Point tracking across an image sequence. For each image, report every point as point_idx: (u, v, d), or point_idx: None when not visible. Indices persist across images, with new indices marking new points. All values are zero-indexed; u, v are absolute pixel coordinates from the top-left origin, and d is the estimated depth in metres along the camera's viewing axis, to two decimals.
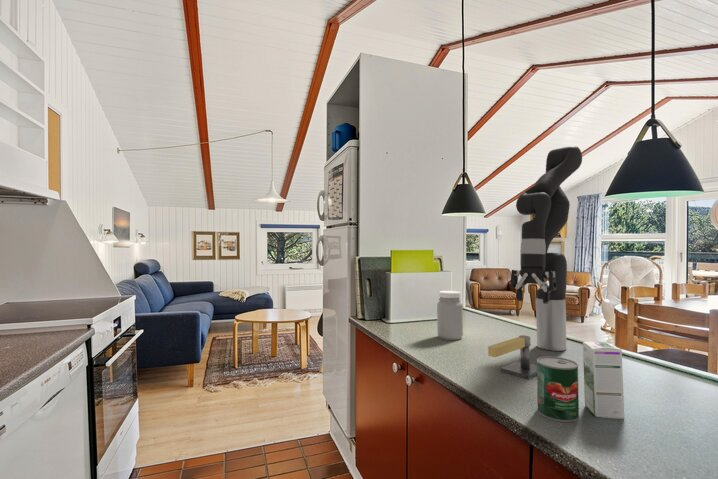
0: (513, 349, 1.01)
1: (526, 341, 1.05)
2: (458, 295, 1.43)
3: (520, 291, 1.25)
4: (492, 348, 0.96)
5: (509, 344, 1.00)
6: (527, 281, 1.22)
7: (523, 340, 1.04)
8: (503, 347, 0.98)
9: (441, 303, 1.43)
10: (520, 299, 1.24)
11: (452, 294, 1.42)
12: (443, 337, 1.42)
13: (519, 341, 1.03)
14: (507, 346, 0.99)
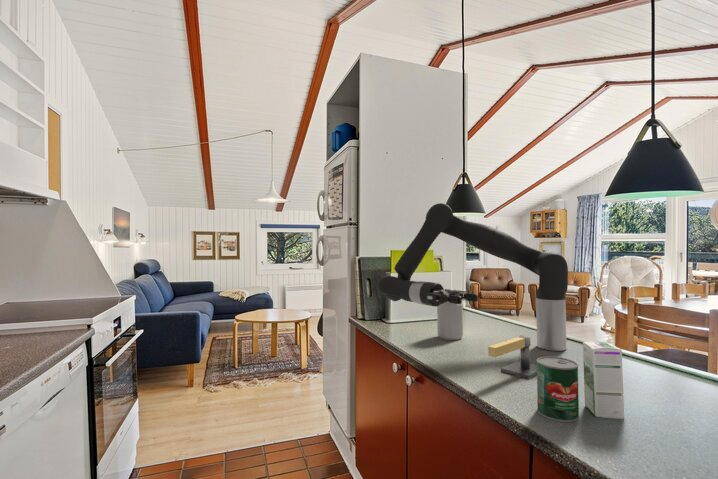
0: (513, 349, 1.01)
1: (526, 341, 1.05)
2: None
3: (467, 298, 1.13)
4: (492, 348, 0.96)
5: (509, 344, 1.00)
6: None
7: (523, 340, 1.04)
8: (503, 347, 0.98)
9: None
10: (475, 299, 1.11)
11: None
12: (443, 337, 1.42)
13: (519, 341, 1.03)
14: (507, 346, 0.99)
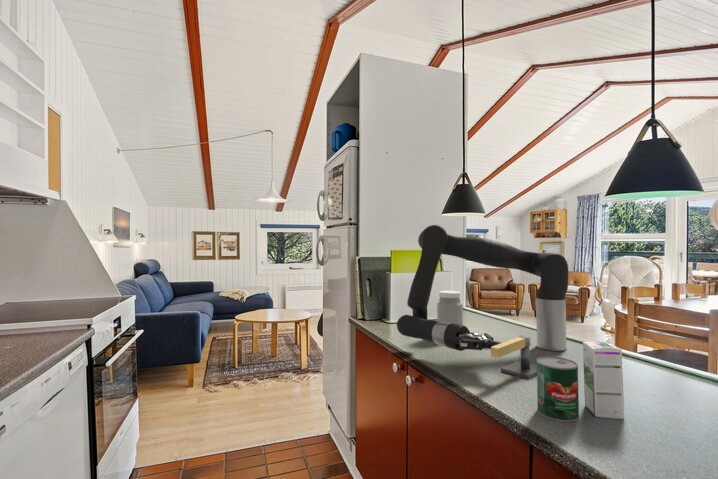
0: (514, 349, 1.00)
1: (526, 341, 1.05)
2: (458, 295, 1.43)
3: None
4: (495, 349, 0.95)
5: (511, 344, 0.99)
6: None
7: (523, 340, 1.04)
8: (505, 347, 0.97)
9: (441, 303, 1.43)
10: None
11: (452, 294, 1.42)
12: None
13: (520, 341, 1.03)
14: (509, 346, 0.98)
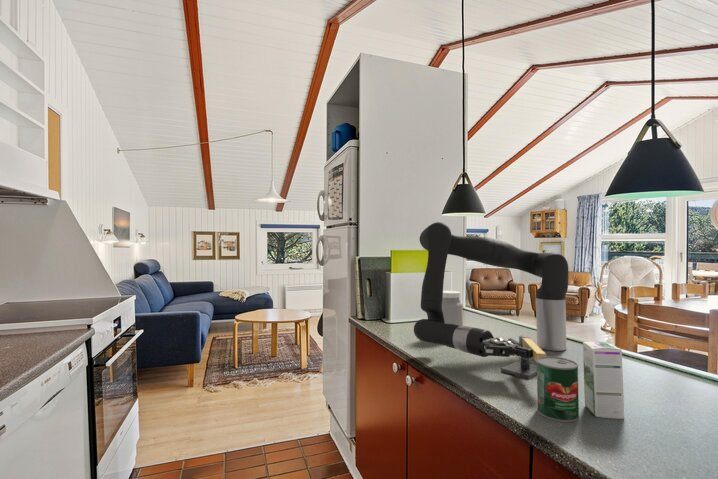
0: None
1: None
2: (458, 295, 1.43)
3: None
4: (542, 354, 0.90)
5: None
6: None
7: None
8: None
9: None
10: None
11: (452, 294, 1.42)
12: None
13: None
14: None
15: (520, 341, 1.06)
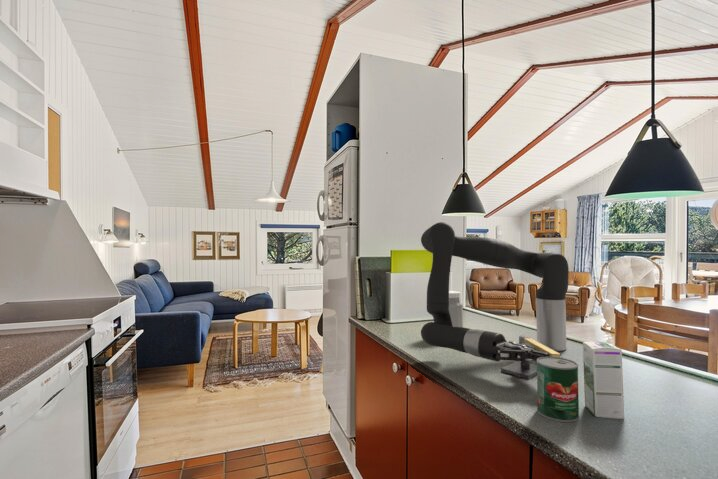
0: None
1: None
2: (458, 295, 1.43)
3: None
4: (556, 355, 0.90)
5: None
6: None
7: None
8: None
9: None
10: None
11: (452, 294, 1.42)
12: None
13: None
14: None
15: (521, 341, 1.06)
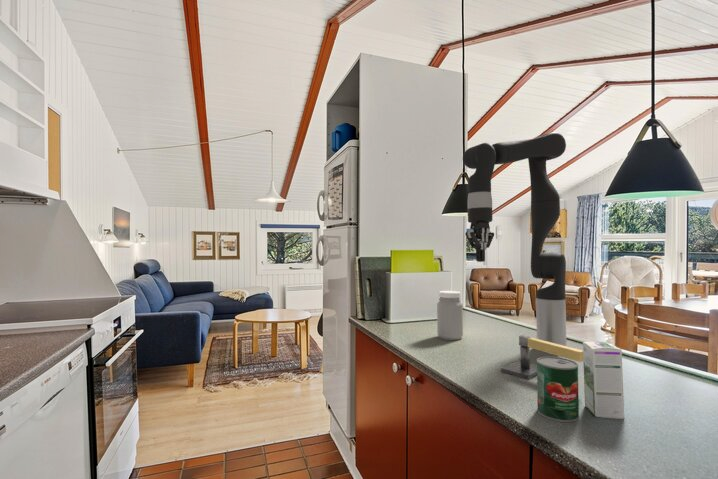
0: None
1: None
2: (458, 295, 1.43)
3: None
4: (582, 352, 0.91)
5: None
6: None
7: None
8: None
9: (441, 303, 1.43)
10: None
11: (452, 294, 1.42)
12: (443, 337, 1.42)
13: None
14: None
15: (523, 342, 1.05)
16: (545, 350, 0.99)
